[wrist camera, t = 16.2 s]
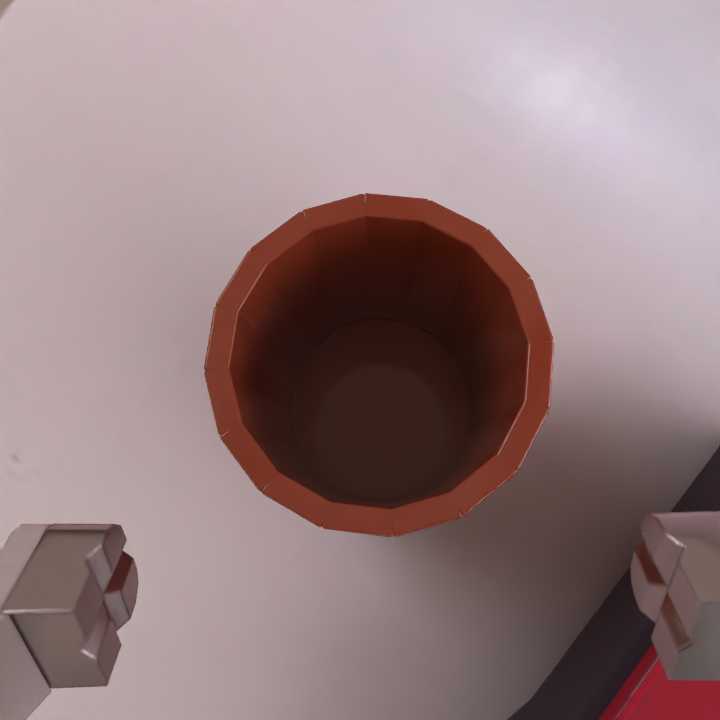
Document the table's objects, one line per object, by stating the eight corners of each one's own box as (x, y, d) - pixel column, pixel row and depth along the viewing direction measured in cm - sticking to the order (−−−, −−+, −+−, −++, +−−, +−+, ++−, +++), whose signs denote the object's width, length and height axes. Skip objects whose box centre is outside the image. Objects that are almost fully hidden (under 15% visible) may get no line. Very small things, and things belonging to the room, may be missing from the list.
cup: (395, 271, 21) (403, 133, 13) (527, 425, 20) (626, 382, 12) (237, 393, 21) (139, 329, 13) (363, 560, 20) (348, 612, 11)
